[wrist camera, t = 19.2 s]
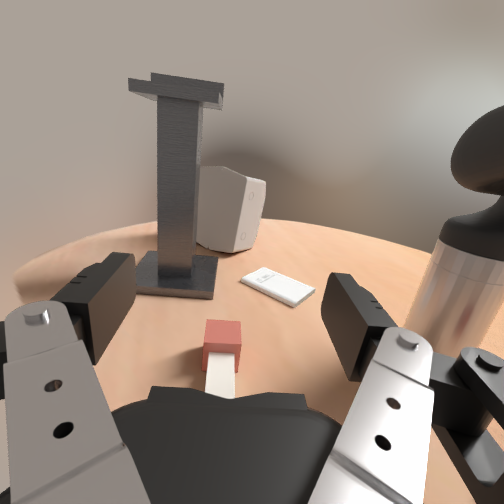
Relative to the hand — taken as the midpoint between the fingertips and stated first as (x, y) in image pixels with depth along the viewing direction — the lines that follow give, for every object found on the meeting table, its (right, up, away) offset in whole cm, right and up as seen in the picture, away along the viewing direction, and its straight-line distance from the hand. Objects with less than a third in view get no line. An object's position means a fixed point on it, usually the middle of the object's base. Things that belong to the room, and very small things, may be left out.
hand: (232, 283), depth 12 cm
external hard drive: (+6, -6, +45) cm, 46 cm away
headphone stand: (-14, -3, +44) cm, 46 cm away
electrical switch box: (-6, +4, +65) cm, 65 cm away
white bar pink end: (-3, -15, +19) cm, 24 cm away
